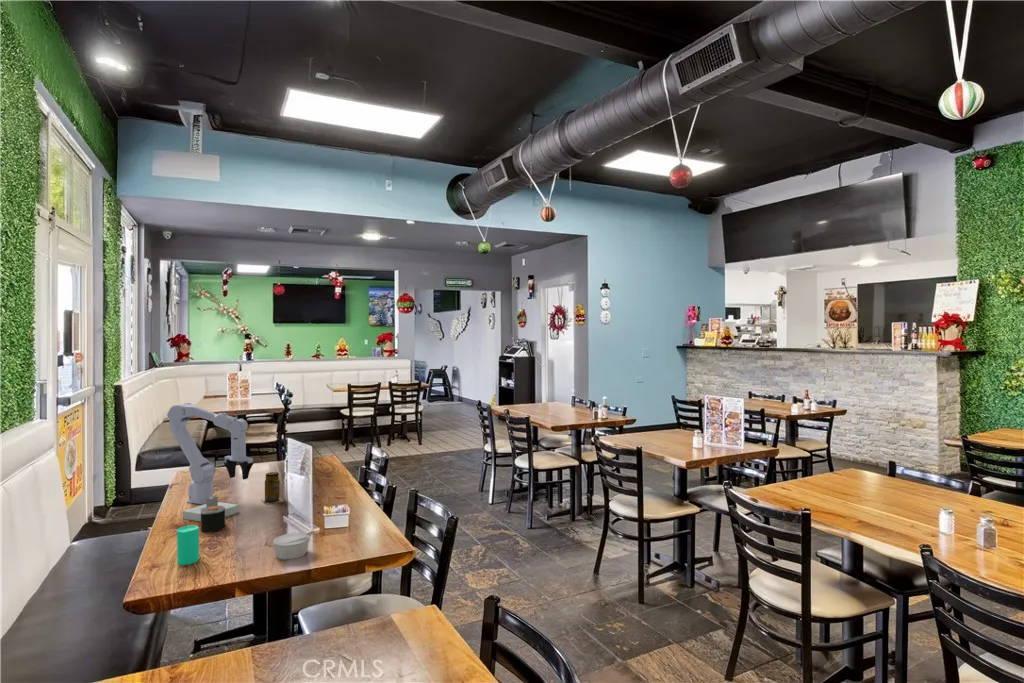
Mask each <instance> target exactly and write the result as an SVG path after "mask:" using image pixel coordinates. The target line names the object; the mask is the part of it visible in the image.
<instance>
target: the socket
mask: <svg viewBox="0 0 1024 683" xmlns="http://www.w3.org/2000/svg"><path fill="white" fill-rule="evenodd" d="M218 506H223V507H225V518H226V517H229V516H231V515H235V514H237V513H239V511H240V510H239V508H240V506H239V504H236V503H235V504H234V503H227V502H220V501H218ZM203 508H206V503H205V504H200V505H198V506H195V507H191V508H187V509H185V510H183V511H182V519H183V520H186V521H187V520H188V521H194V522H200V523H201V513H200V512H201V509H203Z"/></svg>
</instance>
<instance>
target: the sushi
mask: <svg viewBox="0 0 1024 683" xmlns="http://www.w3.org/2000/svg"><path fill="white" fill-rule="evenodd" d="M200 513H201V522H200V531H201V533H203V534H204V533H207V534H208V533H212V532H213V533H215V532H219V531H221V530H223V529H225V528H226V517H225V507H223V506H211V507H208V508H207V507H206V508H203V509H201V512H200Z"/></svg>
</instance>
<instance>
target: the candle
mask: <svg viewBox="0 0 1024 683" xmlns="http://www.w3.org/2000/svg"><path fill="white" fill-rule="evenodd" d="M199 528H200V527H199V526H198V525H196V524H195V525H194V524H190V525H189V524H188V525H186V526H181V527H178V528H177V530H176V553H177V554H176V557H177V558H176V561H177V565H180V566H185V565H186V566H187V565H190V564H194V563H197V562H198V561H199V560H200V530H199Z"/></svg>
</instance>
